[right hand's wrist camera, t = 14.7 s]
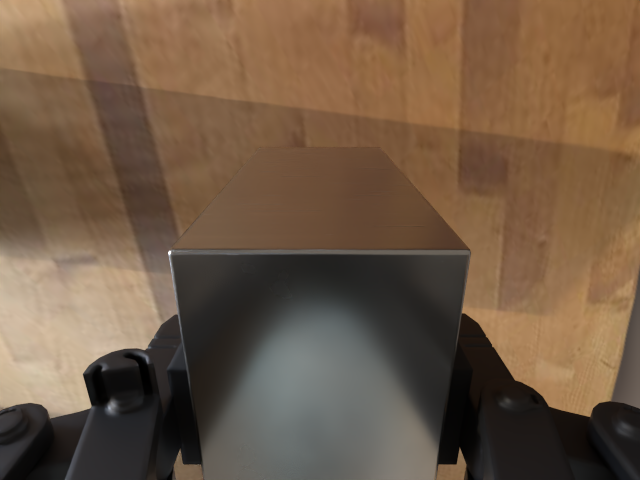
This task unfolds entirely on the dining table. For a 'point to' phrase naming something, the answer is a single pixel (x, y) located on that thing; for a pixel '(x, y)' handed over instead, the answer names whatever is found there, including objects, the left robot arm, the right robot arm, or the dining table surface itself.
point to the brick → (319, 319)
